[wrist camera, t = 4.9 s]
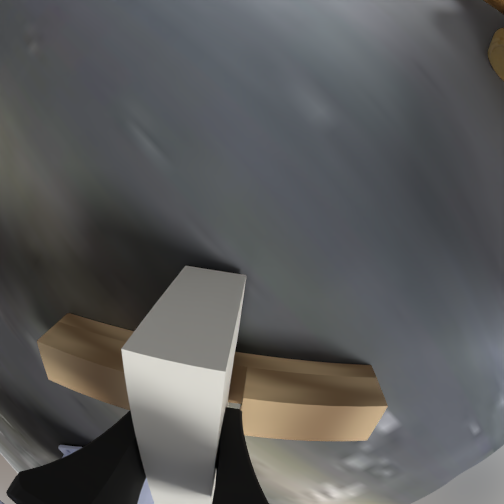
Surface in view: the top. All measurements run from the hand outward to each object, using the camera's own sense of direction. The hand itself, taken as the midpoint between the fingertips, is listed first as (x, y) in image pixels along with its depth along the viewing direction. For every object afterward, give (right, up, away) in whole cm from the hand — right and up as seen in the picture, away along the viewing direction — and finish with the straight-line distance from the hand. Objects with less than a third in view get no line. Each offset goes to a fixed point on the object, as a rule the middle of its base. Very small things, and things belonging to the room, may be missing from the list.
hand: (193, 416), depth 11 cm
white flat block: (0, +1, +3) cm, 3 cm away
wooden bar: (0, +1, +3) cm, 3 cm away
